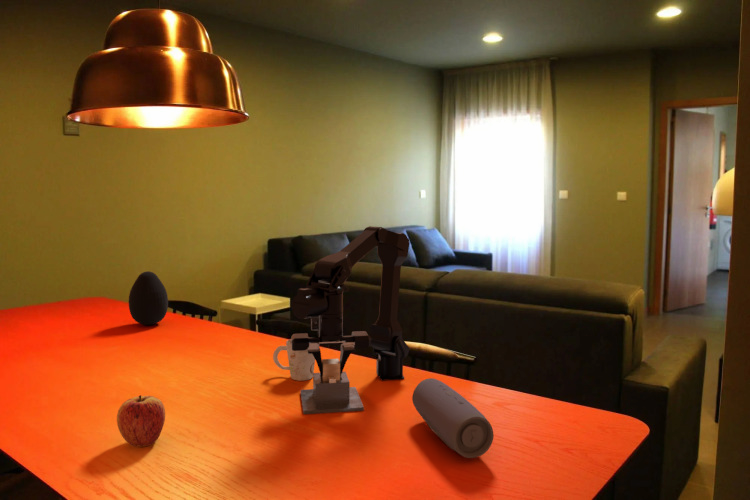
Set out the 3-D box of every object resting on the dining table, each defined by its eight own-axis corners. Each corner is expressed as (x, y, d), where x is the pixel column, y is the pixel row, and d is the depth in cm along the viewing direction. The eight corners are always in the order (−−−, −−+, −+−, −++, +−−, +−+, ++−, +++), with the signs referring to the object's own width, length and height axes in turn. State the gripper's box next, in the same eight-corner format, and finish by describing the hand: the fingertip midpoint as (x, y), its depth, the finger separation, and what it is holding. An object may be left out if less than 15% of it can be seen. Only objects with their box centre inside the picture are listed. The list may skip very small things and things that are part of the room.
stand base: (355, 389, 150) (355, 363, 150) (363, 410, 137) (364, 381, 136) (300, 392, 148) (300, 365, 147) (303, 414, 134) (303, 384, 134)
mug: (311, 383, 155) (311, 346, 154) (267, 379, 158) (266, 343, 157) (321, 373, 163) (320, 338, 162) (278, 370, 166) (277, 335, 165)
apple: (118, 456, 113) (115, 406, 112) (117, 438, 121) (115, 391, 120) (167, 448, 117) (166, 400, 115) (164, 431, 125) (162, 385, 124)
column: (338, 393, 145) (338, 358, 144) (340, 399, 140) (340, 363, 140) (321, 394, 144) (321, 359, 143) (322, 400, 140) (322, 364, 139)
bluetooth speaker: (496, 461, 112) (497, 411, 111) (451, 467, 110) (452, 416, 108) (448, 416, 134) (449, 374, 133) (409, 420, 131) (410, 377, 130)
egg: (159, 318, 228) (158, 267, 226) (174, 325, 218) (173, 271, 216) (123, 324, 219) (121, 271, 216) (137, 331, 209) (135, 275, 206)
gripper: (364, 304, 149) (363, 363, 151) (290, 306, 146) (290, 367, 148) (371, 313, 139) (371, 377, 140) (291, 316, 135) (292, 381, 137)
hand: (330, 375), depth 142 cm, fingers closed on column, 4 cm apart
